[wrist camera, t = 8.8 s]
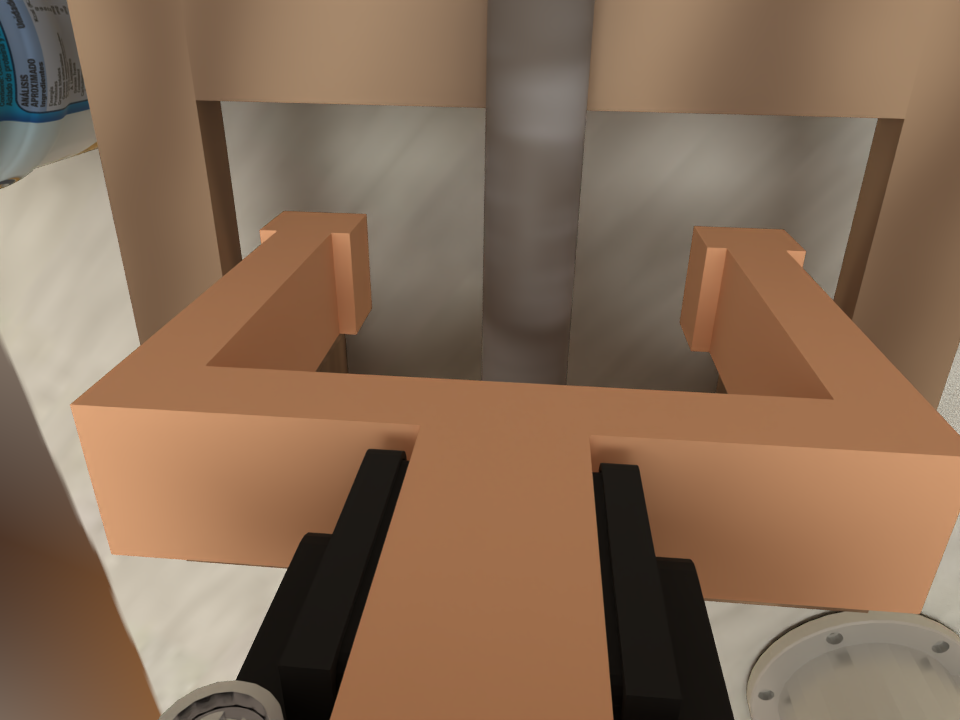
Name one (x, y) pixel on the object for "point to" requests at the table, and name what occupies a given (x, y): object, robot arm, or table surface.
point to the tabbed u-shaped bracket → (523, 469)
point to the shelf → (625, 75)
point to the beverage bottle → (40, 89)
